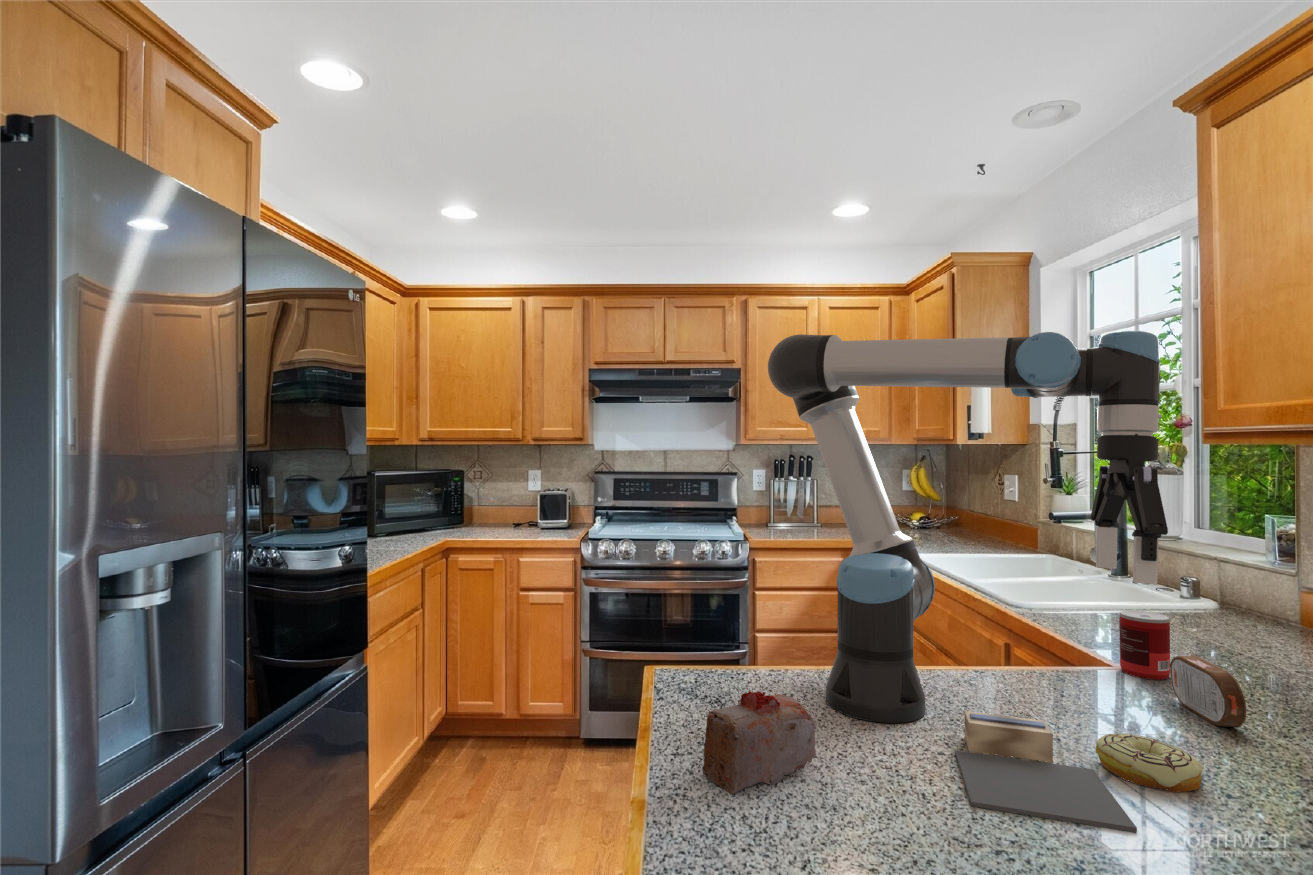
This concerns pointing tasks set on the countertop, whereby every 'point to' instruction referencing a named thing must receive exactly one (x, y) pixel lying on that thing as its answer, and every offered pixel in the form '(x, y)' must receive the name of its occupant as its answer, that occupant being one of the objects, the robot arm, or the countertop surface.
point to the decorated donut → (1149, 762)
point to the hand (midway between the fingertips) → (1124, 575)
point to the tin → (1208, 691)
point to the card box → (1008, 736)
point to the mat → (1040, 790)
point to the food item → (757, 741)
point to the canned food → (1144, 644)
